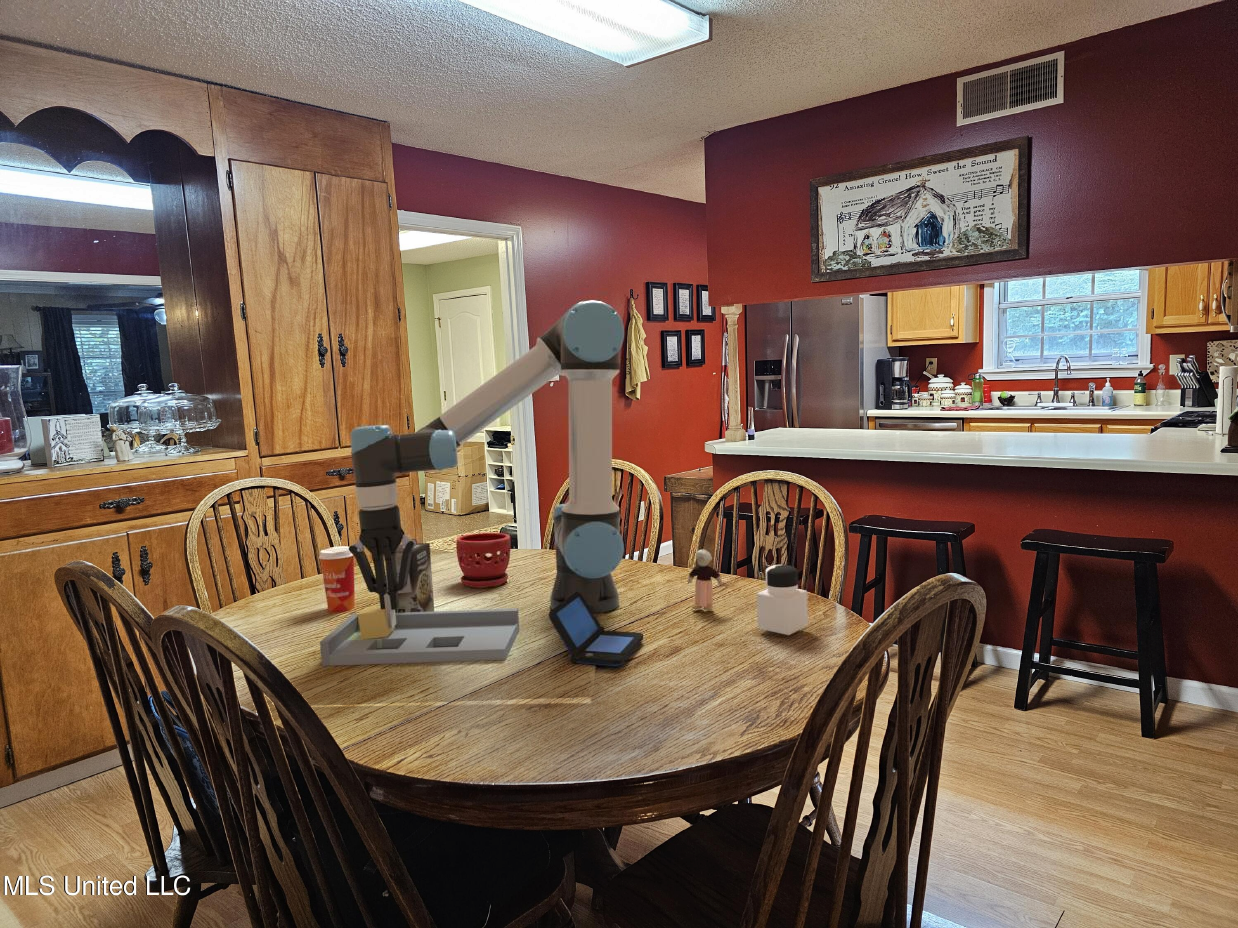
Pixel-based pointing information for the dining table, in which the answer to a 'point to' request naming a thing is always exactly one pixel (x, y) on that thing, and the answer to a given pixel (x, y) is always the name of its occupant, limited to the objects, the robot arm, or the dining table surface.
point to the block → (373, 623)
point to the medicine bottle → (782, 602)
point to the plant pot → (483, 559)
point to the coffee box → (416, 581)
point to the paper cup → (338, 578)
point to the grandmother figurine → (704, 581)
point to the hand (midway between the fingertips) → (391, 625)
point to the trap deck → (426, 638)
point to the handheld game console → (590, 634)
